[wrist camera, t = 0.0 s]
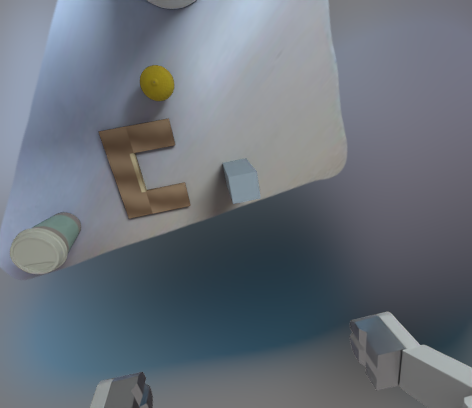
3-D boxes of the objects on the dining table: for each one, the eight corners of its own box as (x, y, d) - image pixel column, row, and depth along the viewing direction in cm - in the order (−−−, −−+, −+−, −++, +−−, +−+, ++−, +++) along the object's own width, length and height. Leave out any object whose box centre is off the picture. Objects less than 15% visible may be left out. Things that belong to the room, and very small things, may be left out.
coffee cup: (38, 234, 57) (0, 267, 46) (50, 199, 54) (12, 225, 43) (81, 248, 59) (54, 283, 48) (93, 215, 57) (69, 244, 46)
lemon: (181, 93, 51) (178, 92, 43) (154, 105, 51) (147, 107, 43) (166, 62, 48) (161, 56, 41) (138, 75, 49) (128, 71, 41)
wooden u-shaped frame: (100, 131, 51) (98, 131, 50) (168, 118, 52) (168, 118, 51) (130, 216, 58) (128, 218, 57) (190, 204, 59) (190, 206, 58)
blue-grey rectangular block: (222, 162, 56) (228, 177, 46) (246, 158, 57) (256, 171, 47) (226, 185, 58) (233, 203, 48) (249, 180, 59) (260, 198, 48)
